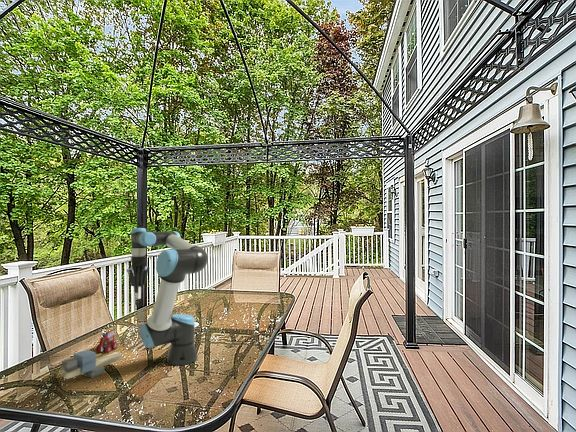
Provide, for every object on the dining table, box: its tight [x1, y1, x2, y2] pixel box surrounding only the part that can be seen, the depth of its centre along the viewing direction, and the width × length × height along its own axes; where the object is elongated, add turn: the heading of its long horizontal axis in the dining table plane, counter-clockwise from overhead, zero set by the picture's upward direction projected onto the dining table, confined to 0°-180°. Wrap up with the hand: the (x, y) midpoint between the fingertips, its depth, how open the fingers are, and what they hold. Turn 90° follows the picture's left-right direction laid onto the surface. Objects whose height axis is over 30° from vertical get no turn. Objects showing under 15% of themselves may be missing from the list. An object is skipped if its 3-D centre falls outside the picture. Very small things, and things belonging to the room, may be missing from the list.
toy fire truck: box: [95, 329, 118, 354], centre depth 196 cm, size 7×12×10 cm, turn 172°
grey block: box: [73, 349, 97, 373], centre depth 162 cm, size 7×6×7 cm
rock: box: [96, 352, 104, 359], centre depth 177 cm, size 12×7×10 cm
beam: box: [61, 351, 123, 380], centre depth 166 cm, size 7×26×10 cm, turn 149°
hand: (138, 298), depth 195 cm, fingers closed
